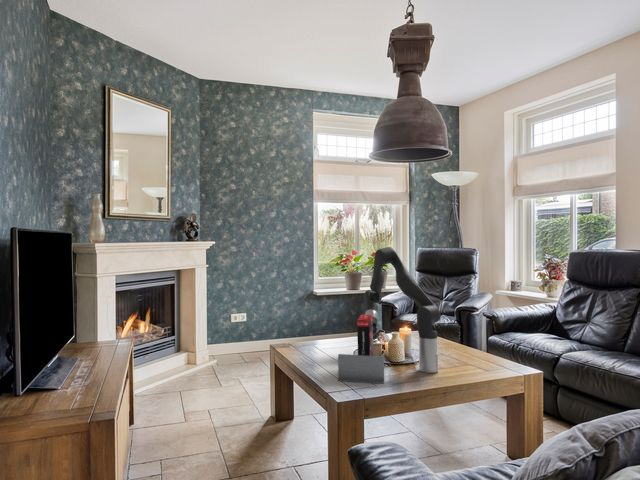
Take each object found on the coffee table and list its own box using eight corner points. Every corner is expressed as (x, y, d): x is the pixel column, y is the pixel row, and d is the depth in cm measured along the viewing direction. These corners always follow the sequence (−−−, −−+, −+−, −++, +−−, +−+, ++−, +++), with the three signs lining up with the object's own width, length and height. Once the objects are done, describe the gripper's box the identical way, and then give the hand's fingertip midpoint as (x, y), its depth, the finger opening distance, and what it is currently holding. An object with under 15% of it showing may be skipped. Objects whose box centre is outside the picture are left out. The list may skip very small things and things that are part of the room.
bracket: (385, 375, 233) (385, 351, 232) (383, 383, 219) (383, 358, 219) (342, 372, 237) (341, 349, 237) (337, 381, 224) (337, 356, 224)
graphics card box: (370, 374, 235) (370, 320, 234) (357, 373, 236) (356, 319, 236) (373, 364, 251) (373, 314, 251) (361, 364, 253) (360, 314, 252)
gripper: (359, 315, 269) (356, 341, 257) (382, 315, 266) (380, 342, 254) (360, 322, 274) (357, 348, 262) (382, 323, 271) (381, 349, 260)
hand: (368, 345), depth 258 cm, fingers closed
